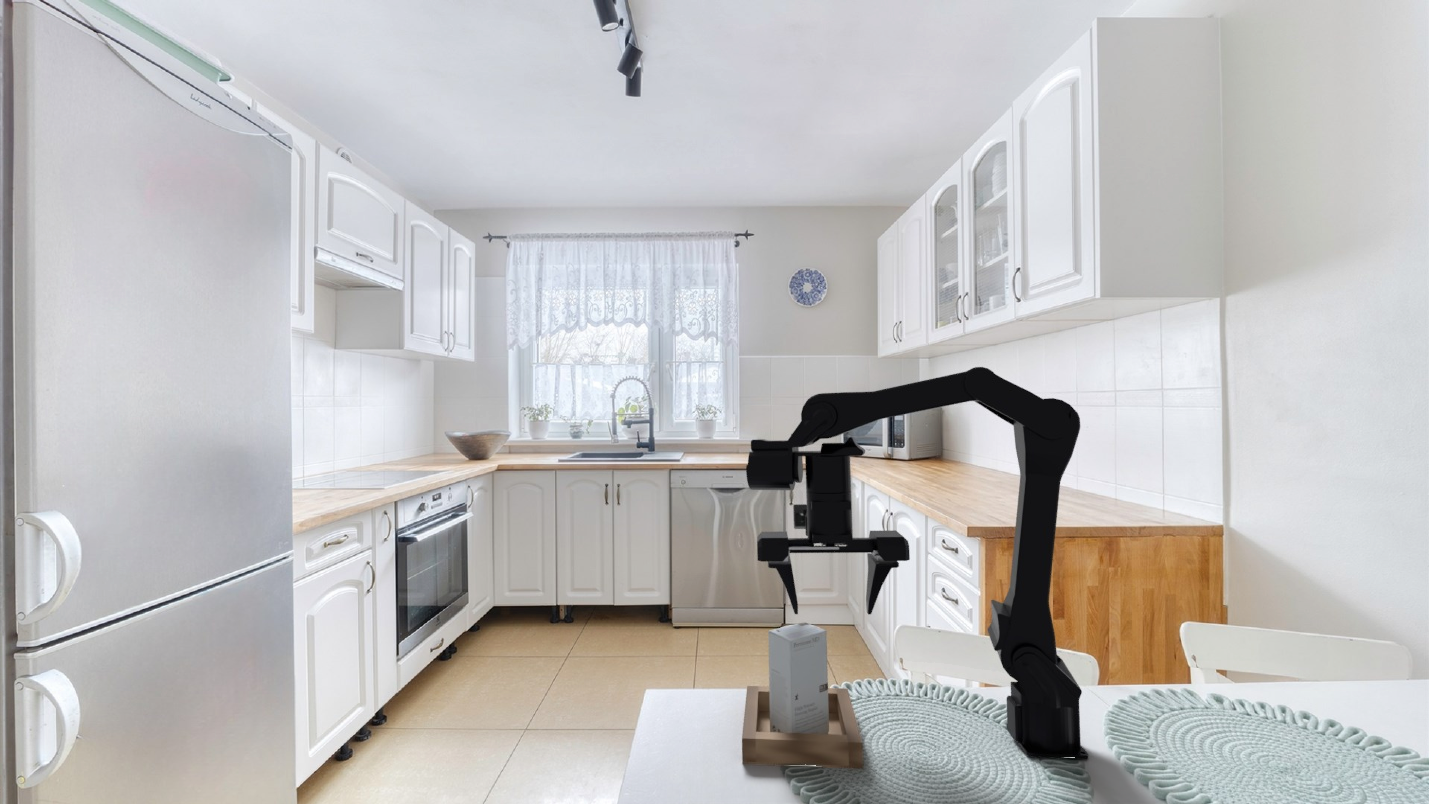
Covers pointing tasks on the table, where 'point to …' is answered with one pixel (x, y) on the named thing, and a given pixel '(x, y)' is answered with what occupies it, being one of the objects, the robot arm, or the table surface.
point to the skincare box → (798, 679)
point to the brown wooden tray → (801, 735)
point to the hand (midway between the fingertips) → (832, 613)
